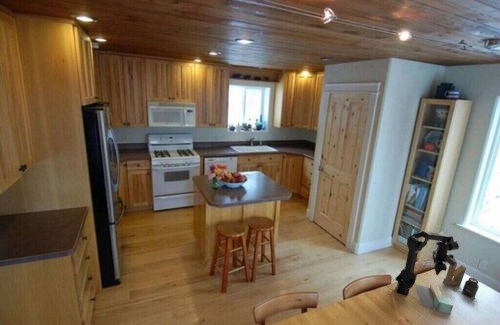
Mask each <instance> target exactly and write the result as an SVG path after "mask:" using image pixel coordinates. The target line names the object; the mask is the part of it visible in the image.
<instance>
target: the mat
mask: <svg viewBox="0 0 500 325" xmlns="http://www.w3.org/2000/svg"><path fill="white" fill-rule="evenodd" d="M413 286H414V287H415V289H416V292H417V295H418V298H419V300H420V302H421V306H422V307H424V308H428V309H430V310H434V311H437V310H436V308H435V305H434V300H435V299H434V296H433V294H432V292H431V290H430V287H427V286H425V285H420V284H416V283H414V285H413Z"/></svg>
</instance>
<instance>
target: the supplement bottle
mask: <svg viewBox="0 0 500 325" xmlns="http://www.w3.org/2000/svg"><path fill="white" fill-rule="evenodd" d="M479 289H480V288H479V280H478V279H476V278H475V277H472V276H471V277H469V278H468V279H467V280H465V282H464V285H463V288H462V291H461V292H462V294H463V295H464V296H466V297H467V298H470V299H475V298H476V295H477V293H478V290H479Z"/></svg>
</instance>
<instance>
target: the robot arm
mask: <svg viewBox="0 0 500 325" xmlns="http://www.w3.org/2000/svg"><path fill="white" fill-rule="evenodd" d="M419 238H420V239H421V238H423V239H424V240H423V241H421V240H420V239H419ZM430 240H431V241H436V243H435V245H437V248H436V249H435V250H433V251H432V259H433V260H432V261H433V266H434V267H433V268H434V271H435V276H439V275H440V274H441V272H442V271H444V272H447V270H448V269H447V268H448V267H447V264H449V265H450V264H451V265H452V266H454V265H455V264H456V263H457V264H458V262H457V260H456V259H455V256H454V255H453V254H451V253H450V254H448V252H449V251H450V252H452V251H457V250H458V249H459V248H460V246H459V243H458V241H457V240H456V239H454V236H452V235H450V234H449V233H447V232H445V231H439V232H432V231H425V230H422V231H420V232H418V233H413V234H412V235H410V236H409V237H408V238H407V241H406V246H407V249H408V252H407V256H406V261H405V267H404V269H402V270H401V271H400V273H398V275H397V276H396V277H395V281H396V282H397V283H396V286H395V292H396V293H397V294H398V295H402V296H405V297H408V296H409V293H410V291H411V290H410V289H413V287H414V286H415V285H414V284H416V280H417V276H418V275H417V274H416V273H415V267H416V262H417V258H418V254H419V253H420V252H421V251H422V250H423V248H424V247H426V246H427V245H428V242H429V241H430ZM437 241H438V242H437ZM446 263H447V264H446Z"/></svg>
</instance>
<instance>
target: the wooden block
mask: <svg viewBox="0 0 500 325" xmlns="http://www.w3.org/2000/svg"><path fill="white" fill-rule="evenodd" d="M457 266H458V262H457V263H456V264H455V265H454V266H452V265H451V264H449V265H448V269H447V271H446V275H445V277H444V278H443V281H442V283H443V284H444V285H446V286H461V285H462V281H463V278H464V276H465V274H466V270H467V267H466V266H464V265H463V264H461V265H460V266H458V267H457Z"/></svg>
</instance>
